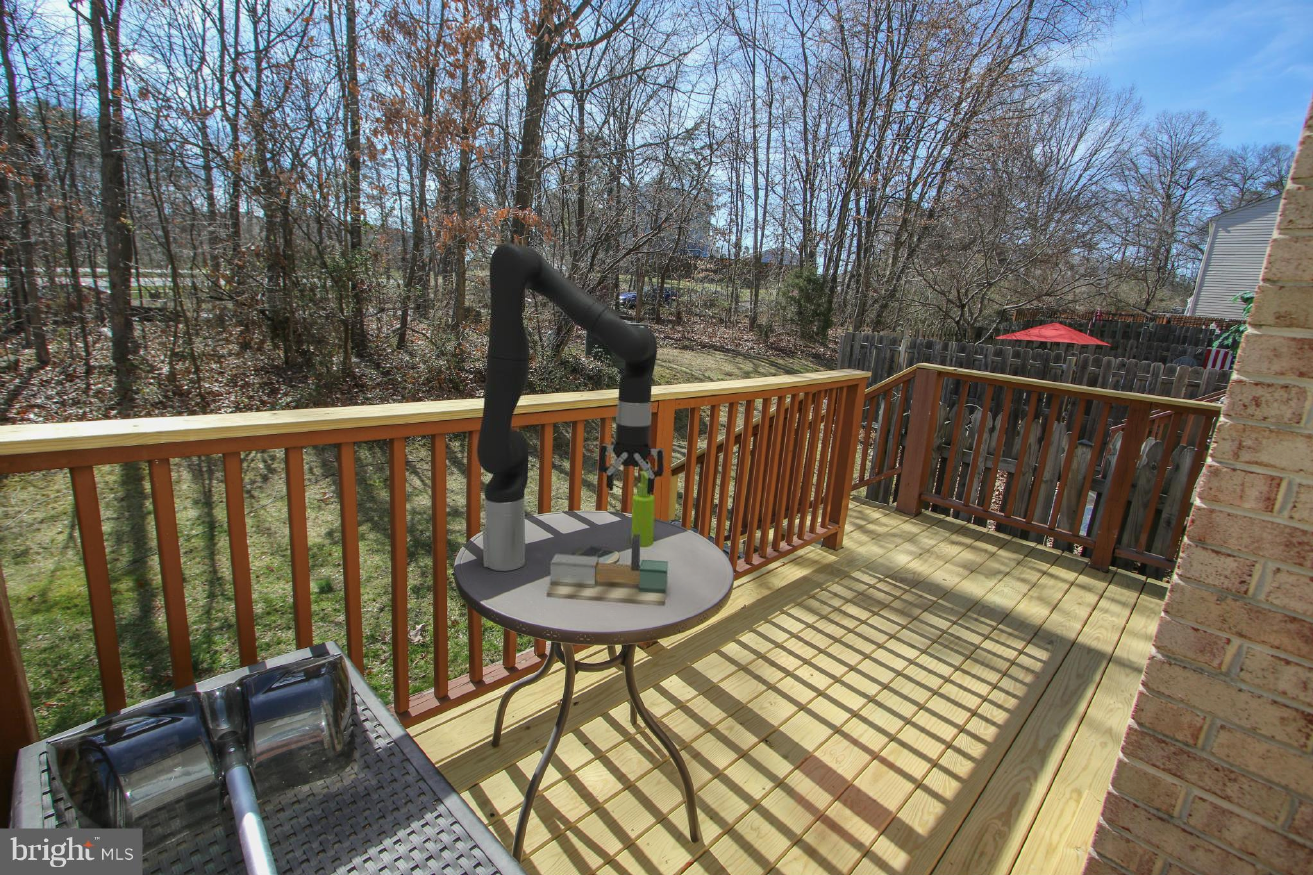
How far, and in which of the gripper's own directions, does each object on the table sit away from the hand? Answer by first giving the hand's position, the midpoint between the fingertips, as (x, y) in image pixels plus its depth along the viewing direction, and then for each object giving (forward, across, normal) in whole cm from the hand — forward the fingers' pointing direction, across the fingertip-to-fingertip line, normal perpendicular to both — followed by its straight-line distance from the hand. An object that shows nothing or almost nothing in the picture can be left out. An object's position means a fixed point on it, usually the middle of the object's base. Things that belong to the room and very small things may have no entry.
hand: (630, 491), depth 137 cm
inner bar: (+20, -2, -3) cm, 20 cm away
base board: (+23, -3, -3) cm, 23 cm away
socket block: (+22, +7, -3) cm, 24 cm away
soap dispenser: (+23, +1, +24) cm, 33 cm away
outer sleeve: (+23, -11, -3) cm, 26 cm away
